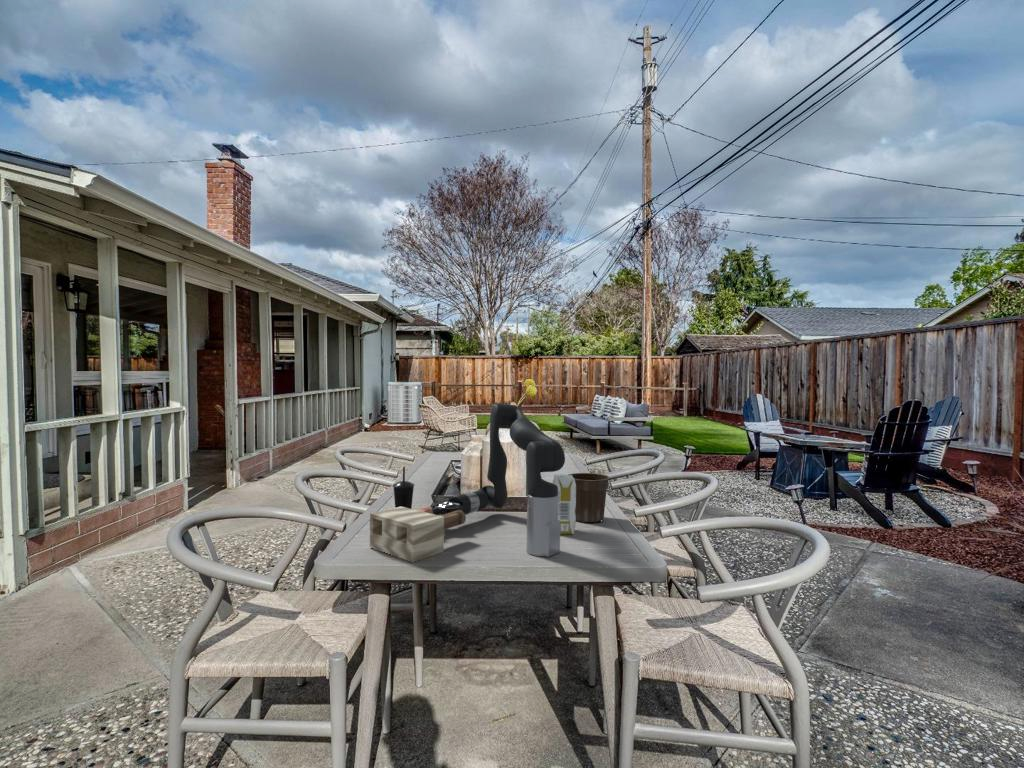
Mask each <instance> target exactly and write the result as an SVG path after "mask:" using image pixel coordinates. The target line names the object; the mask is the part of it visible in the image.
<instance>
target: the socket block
mask: <svg viewBox="0 0 1024 768" xmlns="http://www.w3.org/2000/svg"><path fill="white" fill-rule="evenodd" d="M444 538H445V530H444V517H443V516H439V515H435V514H430V513H426V512H422V511H418V510H417V509H415V508H414V509H412V508H411V509H410V508H406V507H396V508H395V507H393V508H387V509H383V510H380V511H375V512H370V514H369V548H370V547H371V548H374V549H376V550H375V551H377V550H380V551H382V552H381V553H383V552H385V553H384V554H386V553H388V554H387V555H389V554H391V555H390V556H392V555H394V556H393V557H395V556H397V557H396V558H398V557H399V558H398V559H401V558H403V559H402V560H404V559H405V560H404V561H407V560H408V562H410V561H411V562H410V563H416V562H419V561H421V560H425V559H427V558H430V557H432V556H435V555H439V554H441V553H444V551H445V550H444V548H445V546H444V545H445V544H444V542H445V539H444ZM371 548H370V549H371ZM374 549H373V550H374ZM380 551H379V552H380ZM418 560H419V561H418ZM415 561H416V562H415Z"/></svg>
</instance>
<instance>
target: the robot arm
mask: <svg viewBox="0 0 1024 768" xmlns="http://www.w3.org/2000/svg"><path fill="white" fill-rule="evenodd" d="M500 429H507V430H509V436H510V439H511V440H512V442H513V443H514V444H515V445H516V446H517V447H518V448H519V449H520V450H523V451H525V462H526V488H527V491H526V492H527V493H526V494H527V496H526V497H527V498H526V499H527V503H526V553H528V554H529V555H532V556H536V557H546V558H550V557H552V556H554V555H556V554H558V553H560V552H561V534H560V520H557V517H558V487H557V485H555V484H553V482H550V481H547V480H545V479H543V478H542V475H541V474H542V473H551V472H552V473H553V472H557V471H560V470H561V469H562V468H563V467H564V465H565V464H566V463H565V462H566V455H565V451H564V449H563V446H562V445H561V444H560V442H558V441H556V440H555V439H554V438H551V437H550V436H548V435H547V434H546V433H544V432H543V431H542V430H541V429H539V427H537V425H536V424H535V423H533V422H532V421H530V419H529V418H528V417H527V416H525V414H524V412H523V411H522V409H521V408H520V407H519V406H517V405H515V404H506V403H495V404H493V405H492V407H491V410H490V417H489V458H488V459H489V460H488V469H487V475H486V478H487V480H488V481H489V482H490V483H492V485H484V486H482V487H481V488H479V489H477V490H476V491H471V492H465V493H460V494H456V495H453V496H451V497H450V498H449V499H448V501H444V502H442V503H438V502H436V501H435V502H433V504H432V507H431V509H432V511H433V514H435V515H439V516H440V515H443V514H447V513H451V512H454V511H457V510H462V511H463V512H464V513H465V516H467V515H470V514H474V513H475V512H478V511H481V510H484V509H486V508H487V507H488V505H489V506H491V507H494V508H496V509H501V508H503V507H504V506H505V505H506V503H507V501H508V487H507V480H506V475H507V469H508V457H507V454H506V451H505V450H504V448H503V445H502V442H501V440H500V434H499V433H500Z"/></svg>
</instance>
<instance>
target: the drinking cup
mask: <svg viewBox="0 0 1024 768" xmlns="http://www.w3.org/2000/svg"><path fill="white" fill-rule="evenodd" d="M405 473H406V467H405V466H403V467H402V481H400V480H399V481H398V482H396V483H393V485H392V488H393V497H394V508H396V507H406V508H410V509H412V505H413V497H414V489H415V485H416V484H415V483H414V482H413V483H412V482H410V481H407V480H405V479H406V477H405V475H406V474H405Z"/></svg>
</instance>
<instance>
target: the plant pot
mask: <svg viewBox="0 0 1024 768" xmlns="http://www.w3.org/2000/svg"><path fill="white" fill-rule="evenodd" d="M567 475H572V477H573V478H574V479H575V483H576V521H577V522H579V521H581V522H580V523H584V522H595V523H597V522H599V521H601V520H603V519H604V518H605V509H606V499H607V489H608V487H609V480H610V478H611V477H610V476H609V475H607V474H601V473H592V472H575V473H574V472H573V473H569V474H567ZM603 521H604V520H603ZM601 522H602V521H601Z"/></svg>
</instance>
